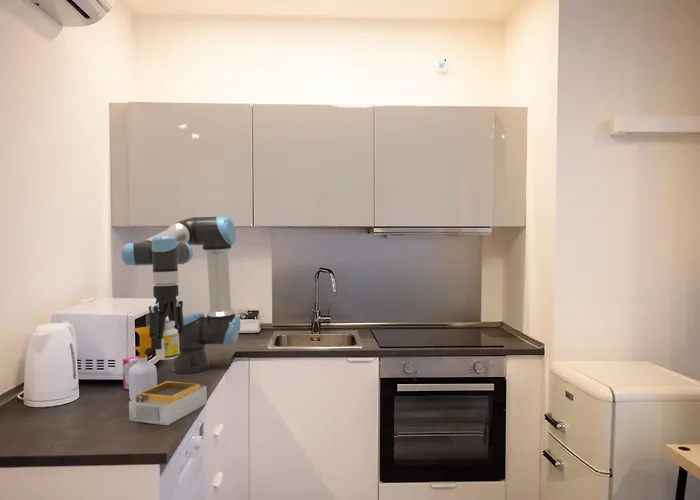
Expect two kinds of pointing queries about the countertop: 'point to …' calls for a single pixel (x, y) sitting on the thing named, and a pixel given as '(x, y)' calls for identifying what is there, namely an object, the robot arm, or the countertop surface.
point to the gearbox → (167, 402)
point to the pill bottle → (170, 340)
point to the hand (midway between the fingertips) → (168, 356)
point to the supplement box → (127, 370)
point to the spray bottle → (142, 367)
